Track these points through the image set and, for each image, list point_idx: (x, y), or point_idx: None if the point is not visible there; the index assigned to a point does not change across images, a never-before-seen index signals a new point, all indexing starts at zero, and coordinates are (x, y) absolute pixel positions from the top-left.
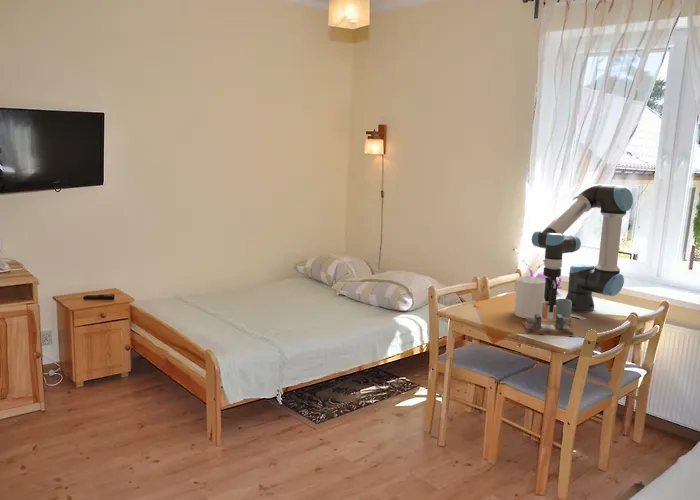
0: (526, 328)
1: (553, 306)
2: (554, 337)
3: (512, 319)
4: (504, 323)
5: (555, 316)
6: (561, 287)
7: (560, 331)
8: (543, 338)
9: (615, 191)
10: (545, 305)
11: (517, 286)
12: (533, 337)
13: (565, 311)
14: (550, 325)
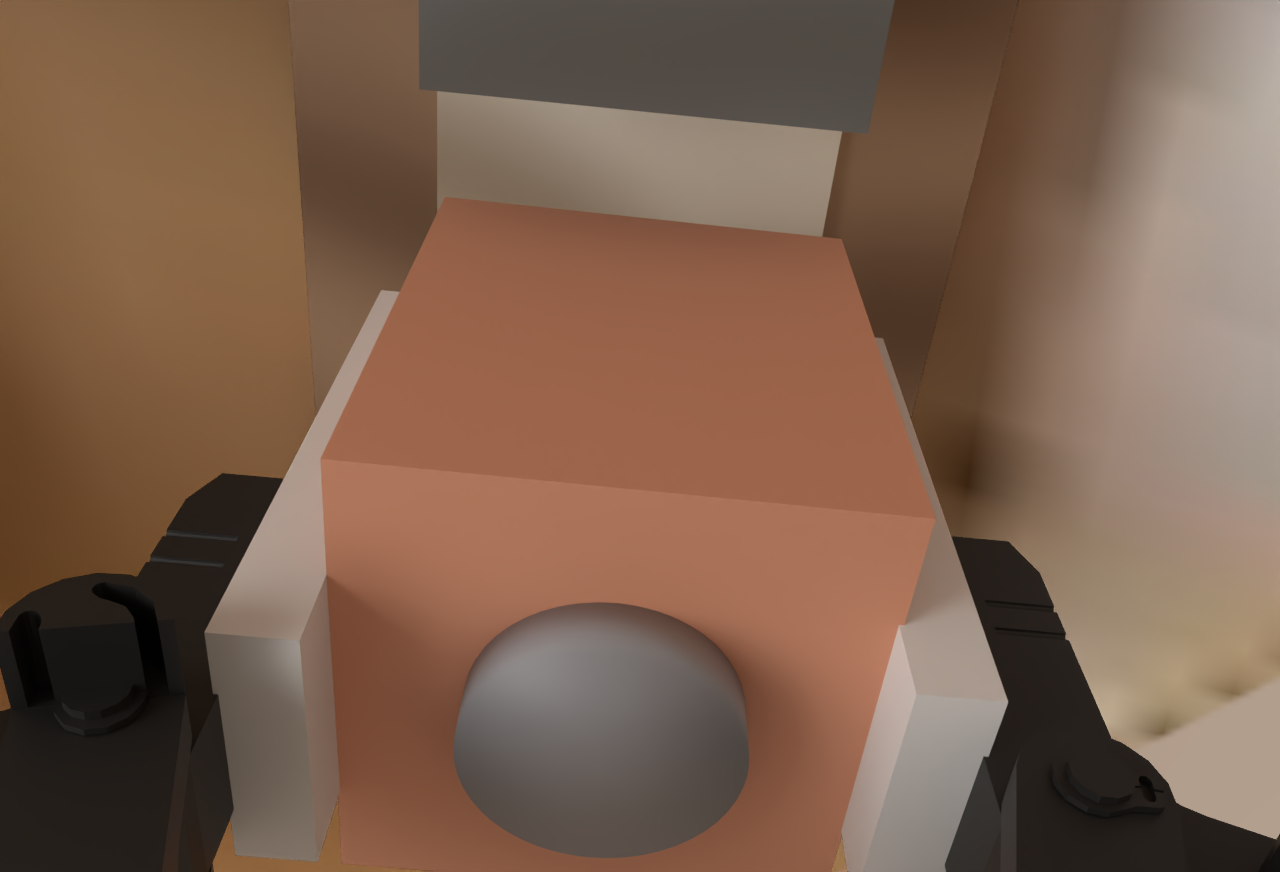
0: None
1: (984, 681)
2: (1240, 256)
3: (3, 708)
4: (309, 863)
5: (856, 288)
6: None
7: (1010, 18)
8: (1242, 501)
9: None
10: (706, 868)
11: None
12: (1137, 649)
13: None
14: (518, 154)
